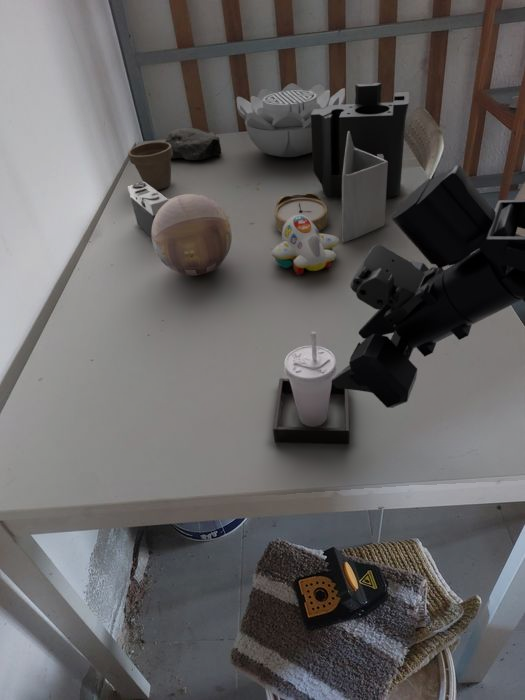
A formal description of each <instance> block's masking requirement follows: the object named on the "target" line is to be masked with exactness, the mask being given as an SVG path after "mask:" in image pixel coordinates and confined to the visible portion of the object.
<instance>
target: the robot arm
mask: <svg viewBox="0 0 525 700" xmlns="http://www.w3.org/2000/svg"><path fill="white" fill-rule="evenodd" d="M390 219H391V220H392V221H393V223H395V225H396V227H398V228H399V229H400V230H401V232H402V233H403V234H404V235H405V236H406V237H407V238H408V239H409V241H410V242H411V243H412V244H413V245H414V246H415V248H416V249H417V250H418V251H419V252H420V253H421V254H422V255H423V256H424V258H425V259H426V260H427V261H428V262H429V263H430V264H431V265H433V266H432V267H430V268H429V267H428V266H427V265H426V264H425V263H424V262H420V261H414V260H411V261H409V260H408V259H406V258H404V257H403V256H400V254H397V253H396V252H394V251H392V250H390V249H389V248H387V247H385V246H384V245H381V244H374V245H373V246H372V248H371V249H369V250H370V251H369V252H368V254H366V257H364V260H363V261H362V263H361V265H360V267H359V268H358V270H357V271H356V273H355V275H354V277H353V278H352V280H351V281H350V284H349V286H350V289H351V291H353V292H354V293H355V295H356V298H357V299H358V300H359V301H361V302H362V303H365V304H366V305H367V306H369V307H371V308H372V309H374V310H377V311H376V312H375V313H374V314H373V316H371V317H370V319H368V320H367V322H366V323H365V324H364V325H363V326H362V327H361V328H360V330H358V335H359V336H360V337H361V338H362V339H363V340H362V342H361V343H360V342H358V343H357V345H356V347H355V348H354V350H353V352H352V354H351V356H350V358H349V361H348V365H347V366H346V367H345V368H343V369H342V370H341V371H340V372H338V374H336V375H335V376H333V379H332V381H331V382H332V383H333V384H334V385H335V386H336V387H337V388H342V389H348V390H349V391H358V392H366V393H371V394H373V395H374V396H375V397H376V398H377V399H378V401H380V403H382V404H383V405H384V407H386V409H387V408H388V409H389V408H390V409H393V408H396V407H397V406H400V405H402V404H405V403H407V402H408V401H409V399H410V396H411V393H412V390H413V388H414V385H415V383H416V381H417V376H418V367H416V366H415V364H414V363H413V362H412V361H411V360H410V357H411V355H412V353H413V351H414V349H417V350H418V351H419V352H420V353H421V355H422V356H423V357H427V356H429V355H431V354H433V353H434V351H435V348H436V346H437V343H439V342H440V341H442V340H444V339H446V338H448V337H451V336H452V335H454V336H455V337H456V338H457V340H459V341H460V340H462V339H464V338H466V337H469V334H470V331H471V328H472V326H473V325H474V324H476V323H479V322H481V321H482V320H484V319H486V318H488V317H490V316H492V315H494V314H496V313H499V312H500V311H502V310H504V309H506V308H508V307H511V306H513V305H514V304H516V303H519V302H521V301H523V303H525V236H516V235H517V231H518V228H519V229H524V230H525V199H504V200H503V199H500V200H497V201H496V202H495V204H494V207H492V206H491V204H489V202H488V201H487V200H486V199H485V198H484V197H483V195H482V194H481V193H480V192H479V190H478V188H476V187H475V186H474V184H473V182H472V180H471V178H470V176H469V174H468V173H467V172H466V171H465V169H464V168H463V167H462V166H461V164H456V165H454V166H453V167H451V168H450V169H449V170H448V171H445V172H442V173H440V174H438V175H436V176H435V177H433V178H432V179H431V178H428V179H427V180H425V181H424V182H423V183H422V184H420V186H418V187H417V188H415V190H413V191H412V192H411V193H410V194H409V195H408V196H407V197H406V198H405V199H404V200H403V201H402V202H401V203H400V204H399V205H398V206H397V207H396V208H395V210H393V212H392V213H391V215H390ZM447 266H449V267H447ZM444 267H447V268H446V269H444ZM390 334H392V335H391V338H390V337H389V336H386V335H390Z"/></svg>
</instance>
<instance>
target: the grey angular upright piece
mask: <svg viewBox="0 0 525 700" xmlns="http://www.w3.org/2000/svg"><path fill="white" fill-rule="evenodd" d="M387 168H388V161H386V160H384V158H382V157H380V156H378V155H377V156H375V155H372V154H369V153H367V152H364V151H362V150H359V149H357V148H355V147H354V145H353V142H352V138H351V134H350V131H348V132H347V140H346V148H345V157H344V166H343V174H342V198H341V242H342V243H346V242H349V241H351V240H354V239H356V238H358V237H362V236H364V235H366V234H369V233H370V232H374V231H375V230H378V229H380V228H381V227H384V226H385V224H386V222H385V221H386V202H387V198H386V187H387Z"/></svg>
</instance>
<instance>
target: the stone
mask: <svg viewBox="0 0 525 700" xmlns="http://www.w3.org/2000/svg"><path fill="white" fill-rule="evenodd" d="M220 141H221V140H220V137H219V136H218V135H217V134H216V133H215V132H207V131H203V130H201V129H198V128H192V127H185V128H177V129H174V130H172V131H170V133H168V134H167V137H166V138H165V142H167V143H169V144H171V146H172V152H173V156H172V157H171V160H173V159H184V160H186V161H202V160H205V159H209V158H211V157H215V156H216V157H217V156H221V155H222V147H221V145H222V144H221V143H220Z"/></svg>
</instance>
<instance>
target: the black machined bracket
mask: <svg viewBox="0 0 525 700" xmlns="http://www.w3.org/2000/svg"><path fill="white" fill-rule="evenodd" d="M354 89H355V90H354V91H355V97H354V103H346V104H345V103H344V104H343V105H332V106H328V107H325V108H323V109H314V110H313V112H312V113H311V131H312V152H311V153H312V154H311V155H312V172H313V173H314V176H316V178H317V180H318V181H319V183H320V185H321V188H322V191H323V193H324V195H325V197H327V198H330V199H342V174H343V166H344V157H345V148H346V140H347V132H348V131H350V134H351V138H352V142H353V145H354V147H355V148H357V149H359V150H362V151H364V152H367V153H369V154H372V155H375V156H377V157H378V155H382V156H383V159H384V160H386V161H388V168H387V187H386V199H392V198H394V197H396V196H398V195H399V194H400V192H401V186H402V172H403V170H402V169H403V157H404V145H405V132H406V131H405V130H406V118H407V112H408V108H409V103H410V92H409V91H401V92H400V91H398V92H396V91H395V92H394V96H393V97H394V98H393V99H394V100H393V102H392V101H391V102H382V96H381V95H382V83H380V82H373V83H371V84H369V83H368V84H367V83H366V84H364V83H357V84H355V86H354Z"/></svg>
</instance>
